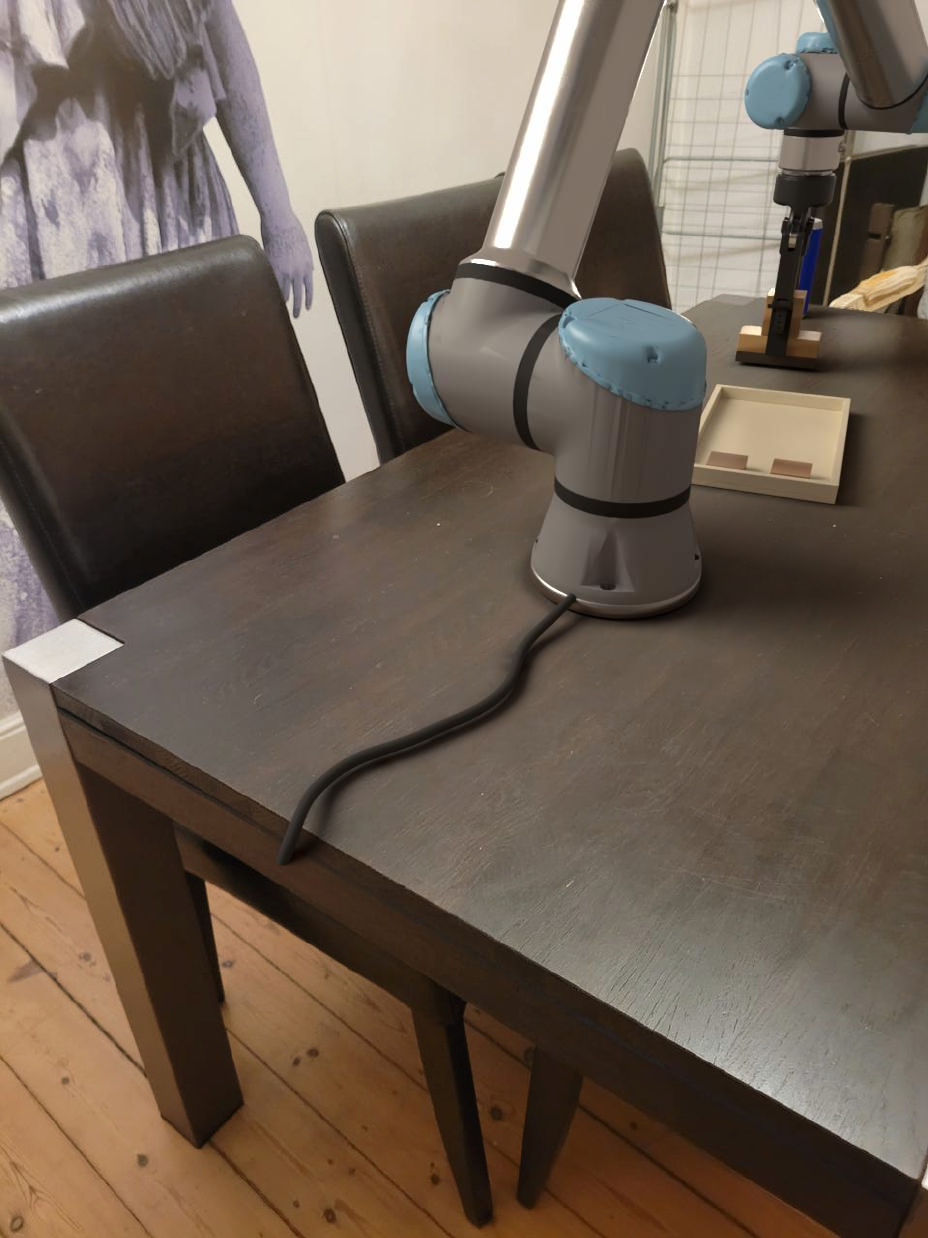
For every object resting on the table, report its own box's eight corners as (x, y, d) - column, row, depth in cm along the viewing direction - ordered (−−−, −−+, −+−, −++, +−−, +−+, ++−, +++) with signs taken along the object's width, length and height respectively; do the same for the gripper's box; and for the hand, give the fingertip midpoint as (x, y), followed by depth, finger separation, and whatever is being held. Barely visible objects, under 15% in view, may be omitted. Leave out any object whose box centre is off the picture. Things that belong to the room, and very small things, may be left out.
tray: (834, 504, 96) (838, 485, 95) (674, 481, 101) (676, 463, 100) (847, 414, 117) (851, 398, 116) (714, 399, 122) (716, 383, 121)
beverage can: (767, 313, 157) (783, 218, 149) (791, 309, 159) (808, 215, 151) (788, 320, 153) (805, 223, 145) (813, 316, 155) (830, 220, 147)
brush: (814, 369, 131) (827, 300, 125) (734, 361, 134) (744, 293, 129) (816, 359, 134) (829, 292, 129) (739, 352, 138) (749, 286, 132)
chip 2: (807, 490, 97) (809, 477, 96) (767, 485, 99) (770, 472, 98) (810, 475, 100) (812, 463, 100) (772, 470, 102) (774, 458, 101)
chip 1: (741, 482, 99) (743, 469, 98) (703, 477, 101) (705, 464, 100) (746, 468, 102) (748, 455, 102) (709, 463, 104) (711, 450, 103)
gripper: (833, 182, 112) (798, 370, 125) (841, 163, 126) (809, 335, 139) (769, 179, 115) (741, 365, 128) (784, 161, 129) (757, 330, 141)
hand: (776, 349), depth 133 cm, fingers closed on brush, 4 cm apart
